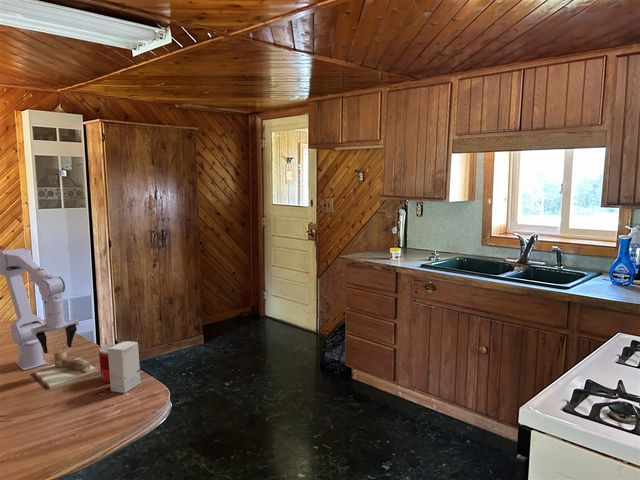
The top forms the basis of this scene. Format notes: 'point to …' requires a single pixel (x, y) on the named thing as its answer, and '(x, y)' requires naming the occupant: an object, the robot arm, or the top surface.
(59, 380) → the green tile
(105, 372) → the canned food
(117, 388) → the skincare box
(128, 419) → the top surface
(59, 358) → the friction peg
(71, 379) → the board
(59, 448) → the top surface
